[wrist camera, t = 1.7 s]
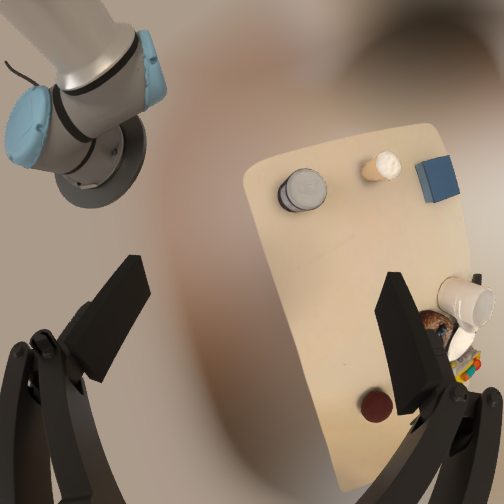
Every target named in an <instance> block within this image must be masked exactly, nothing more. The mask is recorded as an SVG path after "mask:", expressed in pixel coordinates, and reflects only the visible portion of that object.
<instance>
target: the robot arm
mask: <svg viewBox="0 0 504 504" xmlns="http://www.w3.org/2000/svg"><path fill="white" fill-rule="evenodd" d="M0 13H1V14H2V15H3V16H4V17H5V18H6V19H7V20H8V21H9V22H10V23H11V24H12V25H13V26H14V27H15V28H17V30H18V31H19V32H21V34H22V35H23V36H24V37H25V38H27V39H28V40H29V41H30V42H31V43H32V44H33V45H34V46H35V47H36V48H37V49H38V50H39V51H40V52H41V53H42V54H43V55H44V56H45V57H46V58H47V59H48V60H49V61H50V62H51V63H52V64H53V65H54V66H55V67H56V68H58V69H57V74H56V84H55V85H54V86H53V87H51V88H49V89H48V88H47V87H46V86H40V85H38V84H37V83H36V82H35V81H33V80H32V79H30V78H28V77H27V76H25V75H23V74H21V73H19V72H17V71H16V70H14V69H13V68H12V67H11V66H10V65H9V64H8V62H7V61H5V64H6V65H7V67H8V68H9V69H10V70H11V71H12V72H13V73H15V74H17V75H18V76H20V77H22V78H24V79H26V80H27V81H29V82H30V83H32V84H33V85H34V87H31V88H30V89H28V90H27V91H26V92H25V93H24V94H23V95H22V96H21V97H20V98H19V100H18V101H17V102H16V104H15V106H14V108H13V110H12V112H11V114H10V116H9V120H8V123H7V126H6V131H5V150H6V154H7V156H8V158H9V159H10V160H11V161H12V162H13V163H15V164H18V165H21V166H23V167H24V168H31V169H37V170H42V171H48V172H53V173H58V174H61V175H62V176H63V177H65V178H66V179H67V180H68V181H69V182H70V183H71V184H72V185H74V186H76V187H79V188H81V189H94V188H97V187H100V186H102V185H103V184H105V183H106V182H108V181H109V180H110V179H111V178H112V177H113V176H114V174H115V173H116V172H117V170H118V169H119V167H120V165H121V163H122V161H123V158H124V154H125V149H126V139H125V134H124V131H123V129H122V127H121V126H120V125H119V124H120V123H122V122H124V121H126V120H128V119H130V118H132V117H133V116H135V115H137V114H139V113H141V112H144V111H146V110H147V109H148V108H149V107H151V106H152V105H154V104H156V103H158V102H160V101H161V100H162V99H163V98H164V97H165V96H166V93H167V87H166V83H165V80H164V76H163V73H162V70H161V67H160V64H159V61H158V58H157V55H156V51H155V48H154V45H153V42H152V39H151V36H150V33H149V31H148V30H142V31H138V32H137V33H136V32H135V30H134V29H133V27H132V26H131V25H129V24H127V23H115V22H114V21H113V19H112V17H111V16H110V14H109V12H108V11H107V9H106V8H105V6H104V5H103V3H102V1H101V0H0ZM150 295H151V292H150V289H149V286H148V282H147V278H146V274H145V271H144V267H143V263H142V259H141V256H139V255H129V256H128V257H127V258H126V259H125V260H124V262H123V263H122V264H121V265H120V266H119V268H118V269H117V270H116V271H115V272H114V274H113V275H112V276H111V277H110V279H109V280H108V281H107V283H106V284H105V285H104V286H103V288H102V289H101V290H100V292H99V293H98V294H97V295H96V297H95V298H94V300H93V301H92V302H89V301H88V302H87V303H85V304H84V305H83V306H81V307H80V309H79V310H78V311H77V313H76V314H75V316H74V317H73V318H72V319H71V322H69V323H68V325H67V326H66V328H65V329H64V330H63V332H62V333H61V335H60V336H59V338H58V339H57V341H56V339H55V338H54V336H53V335H52V333H51V332H50V331H49V330H47V329H42V330H39V331H37V332H36V333H35V334H34V335H33V336H32V338H31V339H30V343H29V344H30V345H31V347H32V348H33V349H30V347H29V346H28V344H27V343H25V342H18V343H17V344H15V345H14V346H13V348H12V349H11V351H10V355H9V358H8V362H7V366H6V370H5V374H4V378H3V383H2V388H1V392H0V504H54V500H53V493H52V482H51V471H50V470H51V469H50V457H51V461H52V465H53V469H54V473H55V476H56V480H57V483H58V486H59V489H60V492H61V496H62V500H61V501H60V502H59V503H58V504H126V503H125V501H124V499H123V497H122V494H121V492H120V490H119V488H118V486H117V483H116V481H115V479H114V476H113V474H112V472H111V469H110V466H109V464H108V461H107V459H106V456H105V453H104V450H103V447H102V445H101V442H100V439H99V436H98V433H97V429H96V426H95V422H94V419H93V415H92V412H91V408H90V404H89V400H88V396H87V391H86V387H85V382H84V379H83V378H82V375H83V373H84V372H85V373H86V375H87V376H88V377H89V379H92V380H95V381H97V382H100V383H102V381H103V379H104V378H105V376H106V374H107V372H108V370H109V368H110V366H111V364H112V362H113V360H114V358H115V357H116V355H117V353H118V351H119V349H120V347H121V345H122V343H123V342H124V340H125V338H126V336H127V334H128V333H129V331H130V329H131V327H132V326H133V324H134V322H135V320H136V318H137V317H138V315H139V314H140V312H141V310H142V308H143V307H144V305H145V303H146V301H147V300H148V298H149V297H150ZM375 315H376V319H377V322H378V326H379V330H380V334H381V337H382V341H383V345H384V350H385V354H386V358H387V362H388V367H389V372H390V376H391V381H392V386H393V391H394V397H395V402H396V408H397V414H398V415H406V414H412V413H414V412H415V411H416V410H417V409H418V407H419V410H420V414H419V415H418V416H417V417H416V418H415V419H414V420H413V421H412V422H411V423H410V425H412V424H413V423H414V424H413V425H412V427H411V429H410V430H409V432H408V434H407V435H406V437H405V438H404V440H403V442H402V443H401V445H400V446H399V448H398V449H397V451H396V452H395V454H394V455H393V457H392V458H391V459H390V461H389V462H388V464H387V465H386V466H385V468H384V469H383V470H382V472H381V473H380V474H379V476H378V477H377V478H376V480H375V481H374V482H373V483H372V485H371V486H370V487H369V488H368V490H367V491H366V492H365V493H364V494H363V496H362V497H361V498H360V499H359V500H358V501H357V502H356V503H355V504H417V503H418V502H419V500H420V499H421V497H422V496H423V494H424V493H425V491H426V490H427V488H428V486H429V485H430V483H431V481H432V479H433V478H434V476H435V474H436V473H437V471H438V469H439V467H440V465H441V463H442V465H441V468H440V471H439V474H438V478H437V481H436V484H435V486H434V489H433V492H432V495H431V498H430V500H429V502H428V504H487V501H488V498H489V494H490V491H491V486H492V483H493V478H494V474H495V469H496V463H497V458H498V451H499V444H500V435H501V426H502V410H503V400H502V396H501V394H500V392H499V391H498V390H497V389H495V388H494V387H489V388H487V389H486V390H485V391H484V392H483V393H482V394H481V393H475V392H469V391H468V390H467V388H466V386H464V385H463V384H462V383H460V382H457V381H456V378H455V375H454V372H453V370H452V367H451V364H450V361H449V358H448V356H447V355H446V350H445V348H444V347H443V346H444V345H443V343H442V340H441V338H440V336H439V335H438V334H437V333H436V331H435V330H434V329H425V326H424V324H423V321H422V319H421V316H420V314H419V312H418V309H417V307H416V305H415V302H414V300H413V298H412V296H411V294H410V291H409V289H408V287H407V285H406V283H405V281H404V279H403V276H402V274H401V272H388V273H387V276H386V279H385V282H384V285H383V288H382V291H381V294H380V297H379V300H378V302H377V305H376V308H375ZM28 380H29V381H30V382H31V383H30V386H28Z"/></svg>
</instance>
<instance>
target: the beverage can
mask: <svg viewBox="0 0 504 504" xmlns="http://www.w3.org/2000/svg"><path fill="white" fill-rule="evenodd" d="M326 195H327V186H326V182H325V180H324V178H323V177H322V176H321V175H320V174H319V173H318V172H316V171H314V170H312V169H299V170H297V171H295V172H294V173H292V174H291V175H290V176H289V177H288V178H287V179H286V181H285V182H284V183H283V184H282V185H281V186H280V188H279V190H278V200H279V203H280V204H281V206H282V207H283V208H284V209H285V210H287V211H289V212H302V211H308V210H313V209H316V208H317V207H319V206H320V205H321V204H322V203H323V202H324V200H325V198H326Z"/></svg>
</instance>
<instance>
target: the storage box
mask: <svg viewBox="0 0 504 504" xmlns="http://www.w3.org/2000/svg"><path fill="white" fill-rule="evenodd" d="M415 167H416V170H417V173H418V176H419V179H420V183H421V186H422V190H423V193H424V197H425V201H426V202H433V203H436V202H439V201H441V200H444V199H447V198H449V197H452V196H455V195H457V194H460V191H459V188H458V183H457V180H456V176H455V172H454V169H453V166H452V162H451V159H450V157H449V155H447V156H443V157H439V158H435V159H431V160H427V161H424V162H422V163H421V164H417V165H415Z"/></svg>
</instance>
